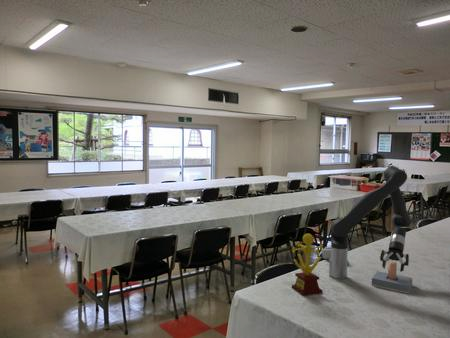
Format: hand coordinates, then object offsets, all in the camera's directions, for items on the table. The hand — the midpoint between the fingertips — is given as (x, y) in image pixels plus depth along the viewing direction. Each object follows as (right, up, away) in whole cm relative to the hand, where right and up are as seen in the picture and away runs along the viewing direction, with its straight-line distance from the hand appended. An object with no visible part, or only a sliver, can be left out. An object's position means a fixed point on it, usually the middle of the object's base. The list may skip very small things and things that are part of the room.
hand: (392, 269), depth 192 cm
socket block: (0, -9, +1) cm, 9 cm away
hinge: (-18, -7, +44) cm, 48 cm away
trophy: (-49, -9, -8) cm, 50 cm away
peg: (0, -8, +1) cm, 8 cm away
